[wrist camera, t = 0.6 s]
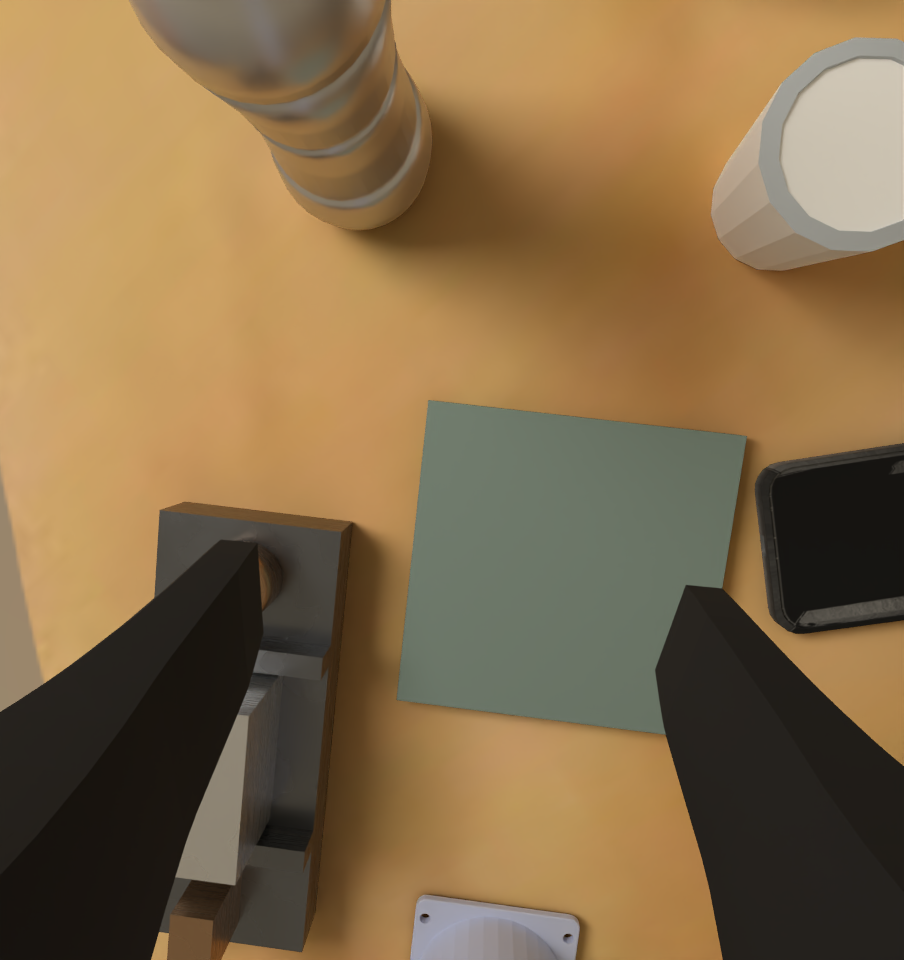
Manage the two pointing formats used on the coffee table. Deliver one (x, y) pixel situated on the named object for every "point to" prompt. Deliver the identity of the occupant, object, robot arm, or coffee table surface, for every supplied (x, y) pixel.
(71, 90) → the coffee table surface
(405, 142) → the silver metal bottle
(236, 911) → the hand plane
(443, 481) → the rubber mat
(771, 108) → the grey and white cylinder
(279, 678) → the rectangular metal block
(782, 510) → the phone
